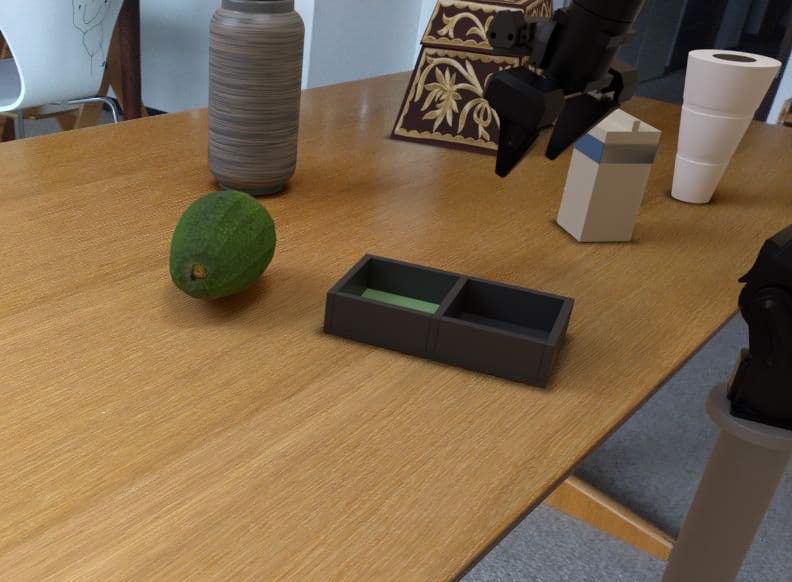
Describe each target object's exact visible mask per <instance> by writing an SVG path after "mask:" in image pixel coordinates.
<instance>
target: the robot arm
mask: <svg viewBox="0 0 792 582" xmlns="http://www.w3.org/2000/svg"><path fill="white" fill-rule="evenodd" d="M645 2H646V0H570V2H569V4H568V6H564V7H557V9H554V12H553V13H552V15H551V17H541V16H527V15H524V14H523V12H522V10H517V11H511V10H509V9H507V10H500V11H498V13H497V15H496V16H495V18H494V20H492V22H491V26H490V29H488V30H487V31H486V38H487V39H488V43H489V44H490V46H491V47H493V50H492V54H493V55H498V56H502V55H503V54H510V55H519V56H530V57H529V59H528V62H527V64H529V65H530V66H532V67H534V68H536V69H541V70H543V73H542V75H543V76H544V77H546V78H544V77H542V76H540V75H538V74H537V73H535V72H533V71H532V70H530V69H528V68H526V67H525V66H518V67H513V68H509V69H504V70H501V71H498V72H496V73H494V74H491V75H490V76H489V78H488V81H487V83H486V85H485V88H484V90H483V92H482V97H483V99H485V100H486V101H488V105H489V106H490V107H491V108H492V109H493V110H495V111H496V113H497V116H498V118H499V122H500V124H499V140H498V149H497V156H495V157H496V159H495V166H494V173H495V175H497V176H498V177H499V178H501V179H504V178H506V177H508V176H509V175H510V173H512V172H513V170H515V169H516V168H517V167H518V165H520V164H521V162H523V160H524V159H525V158H526V157H528V155H529V154H530V153H531V152H532V151H533V150H534V149H535V148H536V147H537V146H538V144H540V143H541V141H543V139H544V138H545V137H546V136H547V135H548V134H550V132H551V134H550V136H549V140H548V142H547V146H546V149H545V152H544V157H545V158H546V159H548V160H549V161H551V162H553V161H555V160H556V159H558V158H559V157H561V155H563V154H564V153H565V152H566V151H567V150H569V149H570V148H571V147H572V146H574V144H575V143H576V142H577V141H578V140H579V139H580V138H581V137H583V136H584V135H585V134H586V133H588V132H589V131H590V130H591V129H592V128H594V127H595V126H596V125H597V124H599V123H600V122H601V121H602V120H604V119H605V118H606V117H607V116H609V115H610V114H611V113H612V112H614V111H615V110H617V109H620V108H621V107H622V104H623V103H625V102H630V101H631V100H632V98H633V96H634V94H635V92H636V91H637V88H638V87H639V86H640V84H641V81H640V75H639V72H638V68H636V67H634V66H632V65H631V64H629V63H627V62H625V61H623V60H621V59H619V58H617V55H618V53H619V51H620V50H621V47H622V46H624V45H625V46H626V45H630V44H632V43H633V41H634V39H635V38H636V36H637V34H638V31H636V30H634V29H632V27H633V24H634V23H635V21H636V19H637V17H638V15H639V13H640V12H641V9H642V7H643V6H644V5H645V4H644V3H645ZM612 94H613V95H612ZM611 96H612V97H611ZM554 122H555V123H554ZM755 258H756V259H755V260H754V263H753V265H752V266H751V267H750V269H749V270H748V271H747V272H746V273H745V274H743V275H742V276H740V277H738V279H737V283H739V284H744V285H743V286H742V288H741V290H740V292H739V295H738V298H737V307H738V308H739V311H740V314H741V317H742V319H743V320H744V321H745V324H746V325H747V326H748V327H747V328H748V348H747V347H742V348H741V349H740V351H739V352H738V356H737V358H736V362H735V364H734V367H733V369H732V371H731V374H730V377H729V379H728V381H729V382H728V385H727V396H726V397H727V399H728V400H730V415H732V416H733V417H737V418H741V419H745V420H749V421H753V422H757V423H761V424H765V425H769V426H773V427H777V428H781V429H785V430H789V431H792V223H790V224H788V225H787V226H785V227H784V228H782V229H781V230H779V231H777V232H776V233H774V234H773V235H771V236H770V237H768V238H767V239H765V241H764V242H763V244H762V246H760V249H759V251H758V254H757V256H756V257H755Z"/></svg>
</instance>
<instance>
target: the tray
mask: <svg viewBox="0 0 792 582" xmlns="http://www.w3.org/2000/svg"><path fill="white" fill-rule="evenodd" d="M575 302H576V298H574V297H569V296H566V295H560V294H555V293H552V292H546V291H542V290H537V289H533V288H528V287H524V286H519V285H515V284H510V283H505V282H500V281H496V280H491V279H486V278H482V277H477V276H473V275H469V274H463V273H459V272H454V271H449V270H444V269H441V268H435V267H431V266H427V265H421V264H417V263H414V262H413V263H412V262H408V261H404V260H399V259H393V258H389V257H385V256H380V255H377V254H372V253H371V254H370V253H365V254H364V255H363V256H362V257H361V258H360V259H359V260H358V261H357V262H356V263H355V264H354V265H352V267H351V268H350V269H349V270H348V271H346V273H345V274H344V275H342V277H341V278H339V280H338V281H337V282H335V283H334V284H333V286H332V287H331V288H329V289H328V290H327V292H326V298H325V308H324V318H323V327H322V328H323V329H322V332H323V333H326V334H330V335H333V336H337V337H340V338H346V339H349V340H353V341H357V342H360V343H365V344H369V345H372V346H375V347H376V346H377V347H379V348H385V349H388V350H392V351H396V352H400V353H404V354H408V355H412V356H415V357H420V358H423V359H428V360H431V361H436V362H440V363H443V364H447V365H451V366H454V367H458V368H462V369H467V370H471V371H475V372H479V373H482V374H487V375H491V376H495V377H499V378H502V379H506V380H510V381H514V382H517V383H522V384H525V385H530V386H533V387H538V388H541V389H545V388H546V386H547V383H548V381H549V379H550V377H551V373H552V371H553V369H554V366H555V364H556V361H557V359H558V356H559V354H560V351H561V349H562V346H563V344H564V342H565V339H566V336H567V333H568V329H569V324H570V321H571V318H572V317H571V316H572V313H573V310H574V305H575Z"/></svg>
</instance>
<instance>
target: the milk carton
mask: <svg viewBox="0 0 792 582" xmlns="http://www.w3.org/2000/svg"><path fill="white" fill-rule="evenodd" d="M661 135H662V130H660V129H658V128H656V127H654V126H652V125H650V124H648V123H647V122H645V121H642V120H641V119H640V118H637V117H635V116H634V115H631V114H629V113H628V112H625V111H624V110H622V109H620V108H619V109H617V110H615V111H614V112H612V113H611V114H610V115H609V116H607V117H606V118H605V119H604V120H602V121H601V122H600V123H599V124H597V125H596V126H595V127H594V128H592V129H591V130H590V131H589V132H588V133H586V134H585V135H584V136H583V137H581V138H580V139H579V140H578V141H577V142H576V143H574V144H573V150H572V154H571V158H570V163H569V167H568V172H567V176H566V179H565V184H564V189H563V192H562V196H561V201H560V205H559V210H558V214H557V218H556V224H558V225H559V226H560V227H561V228H563V230H565V231H566V232H567V233H568V234H569V235H571V236H572V237H573V238H574V239H575V240H576V241H577V242H579V243H600V242H601V243H602V242H603V243H604V242H607V243H608V242H631V240H632V237H633V233H634V230H635V226H636V223H637V219H638V216H639V212H640V208H641V205H642V201H643V198H644V194H645V192H646V188H647V184H648V182H649V181H648V180H649V177H650V174H651V170H652V166H653V164H654V162H655V158H656V154H657V152H658V147H659V144H660V143H659V142H660V139H661Z"/></svg>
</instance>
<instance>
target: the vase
mask: <svg viewBox="0 0 792 582" xmlns="http://www.w3.org/2000/svg"><path fill="white" fill-rule="evenodd" d="M295 2H296V1H295V0H221V6H220V7H218V9H216V10H215V11H214V13H212V16H211V18H210V20H209V25H208V94H207V95H208V98H207V99H208V101H207V106H208V107H207V109H208V110H207V167H208V170H209V172H210V174H211V176H212V177H213V178H214V179H215V180H216V181H217V182H218V186H219V187H220V188H221V189H223V191H229V190H235V191H239V192H242V193H246V194H249V195H251V196H267V195H273V194H275V193H278V192H280V191H282V190H283V188H284V186H285V185H286V183H288V182H289V181H290V180H291V178H292V177H293V176H294V174H295V171H296V169H297V159H298V143H299V129H300V116H301V115H300V114H301V113H300V112H301V98H302V83H303V66H304V53H305V52H304V50H305V38H306V37H305V36H306V26H305V23H304V20H303V17H302V15H301V14H300V13H299V12H298V11H296V9H295V5H296V4H295Z"/></svg>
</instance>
